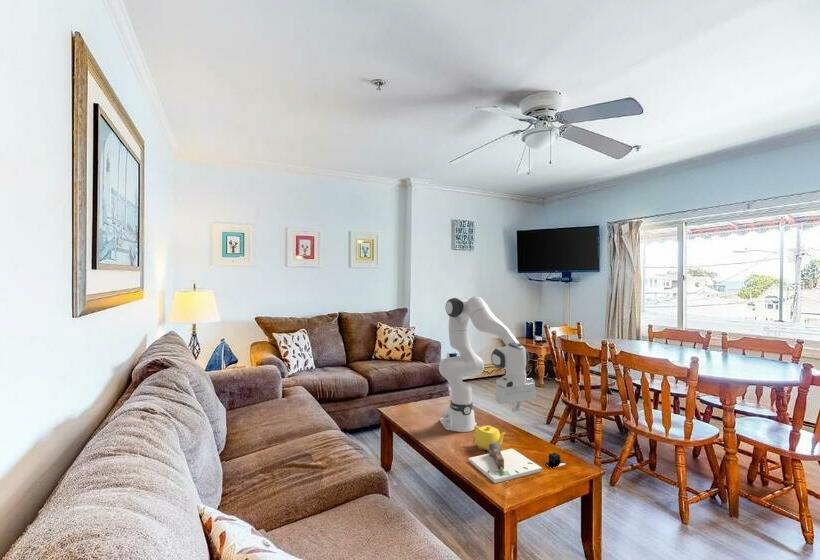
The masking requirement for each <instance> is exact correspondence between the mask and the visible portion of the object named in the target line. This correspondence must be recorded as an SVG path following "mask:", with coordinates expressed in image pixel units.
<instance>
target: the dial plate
mask: <svg viewBox="0 0 820 560" xmlns="http://www.w3.org/2000/svg"><path fill="white" fill-rule="evenodd" d="M501 455H502V457H503V459H504V469H503V470H504V474H502V472H501V470H500V469H498V467H497V465H496V463H495V460H494V458H493V457H492V456H490V455H489V453H486V454H481V455H477V456H472V457H468V462H469V463H470V464H471V465H472V466H474V467H475V469H477V470H479V471H480V472H481V473H482V474H483V475H484V476H486V477H487V478H488V479H489V480H490V481H492V482H493V483H494V484H498V483H502V482H505V481H506V482H507V481H510V480H513V479H517V478H521V477H526V476H529V475H533V474H537V473H541V472H543V467H541V466H540V465H539V464H537V463H536V462H534V461H532V460H531V459H529V458H528V457H526V456H525V455H523V454H521V453H520V452H518V451H517V450H515V449H514V448H509V449H503V450H501Z"/></svg>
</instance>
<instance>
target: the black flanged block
mask: <svg viewBox="0 0 820 560" xmlns="http://www.w3.org/2000/svg"><path fill="white" fill-rule="evenodd" d="M545 463H546V464H547V465H548V466H549V467H548V466H547V467H548V468H550V467H551V468H552V469H554V468H553V467H555V468H557V467H556V466H558V467H561V466H565V465H567V463H566V462H565V461H563V460H561V454H558V453H557V452H552V453H549V454H548V462H547V461H545ZM551 468H550V469H551Z"/></svg>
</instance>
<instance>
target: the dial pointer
mask: <svg viewBox="0 0 820 560" xmlns="http://www.w3.org/2000/svg"><path fill="white" fill-rule="evenodd" d="M501 447H502V444H501V445H500V444H499V443H490V444H489V452H488V454H489V455H490V456H492V457H493V458H494V460H495V463H496V465H497V467H498V469H500V470H501V472H502V474H504V470H503V469H504V459H503V457H502V455H501V451H502V450H501Z"/></svg>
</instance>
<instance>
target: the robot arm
mask: <svg viewBox="0 0 820 560" xmlns="http://www.w3.org/2000/svg"><path fill="white" fill-rule="evenodd" d="M445 312H446V314H447V316H448V317H449V318H448V338H449V345H450V347H451V348H452V349H454V350H455V351H457V352H458V353H459V356H450V357H445V358H442V359H441V360H440V361H439V365H438V371H439V373H440V375H441V376H442V377H443V378H444V379H446V380H447V381H448V383H449V386H450V391H451V393H450V394H451V399H450V400H449V407H447V408H445V410H444V411H443V415H442V417H440V418H439V422H440V423H441V425H442V426H443V427H444V428H445V430H446V431H453V432H458V433H468V432H472V431H475V430H474V426H478V425H477V422H476V418H475V411H474V409H473V406H474V404H473V400H472V399H473V398H472V396H473V395H472V394H473V393H472V392H473V390H472V387H471V385H470V384H469V383H466V382H464V381H463V378H464V377H474V376H477V375H481V374H482V373H483V371H484V368H485V362H484V360H483V359H482V357H480V356H479V355H477V354H476V352H475V351H474V349H473V347H472V345H471V339H470V331H469V329H470V328H469V320H470V321H471V323H472V325H473V326H474V328H476V330H478V331H479V332H482V333H486V334H489V335H490V334H491V335H493V336H496V337H498V338H499V339H501V340H502V342H503V344H504V345H505V346H503V347H498V348H495V349H494V350H493V351H492V353H491V356H490V359H491V363H492V365H493V367H495V368H496V369H499V370H503V369H504V370H505V375H502V376H501V377H499V378H497V379H496V380H495V384H496V386H495V388H494V389H495V390H494V400H495V402H496V403H497V404H499V405H504V404H505V405H507V404H510V407H511V410H512V412H520V409H521V406H522V405H523V401H529V400H530V401H531V400H535V399H536V398H537V391H536V385H535V384H536V381H535V379H533V378H532V377H530V378H527V370H526V367H527V365H528V364H529V361H530V353H529V351H528V350H527V348H526V347H525V346H524V345H523V344H521V343H520V341H519V340H518V339H517V338H516V336H515V335H514V334H513V332H512V331H511V330H510V329H509V327H508V326H507V325H506V324H505V323H504V322H503V321H501V320H500V319H499V318H498V317H496V315H494V314H493V312H492V310H491V308H490V307H489V305H488V303H486V301H485V300H484V299H483V298H482V297H481V296H477V295H475V296H471V297H469V296H467V297H466V296H463V297H452V298H450V299H447V302H446V303H445Z"/></svg>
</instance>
